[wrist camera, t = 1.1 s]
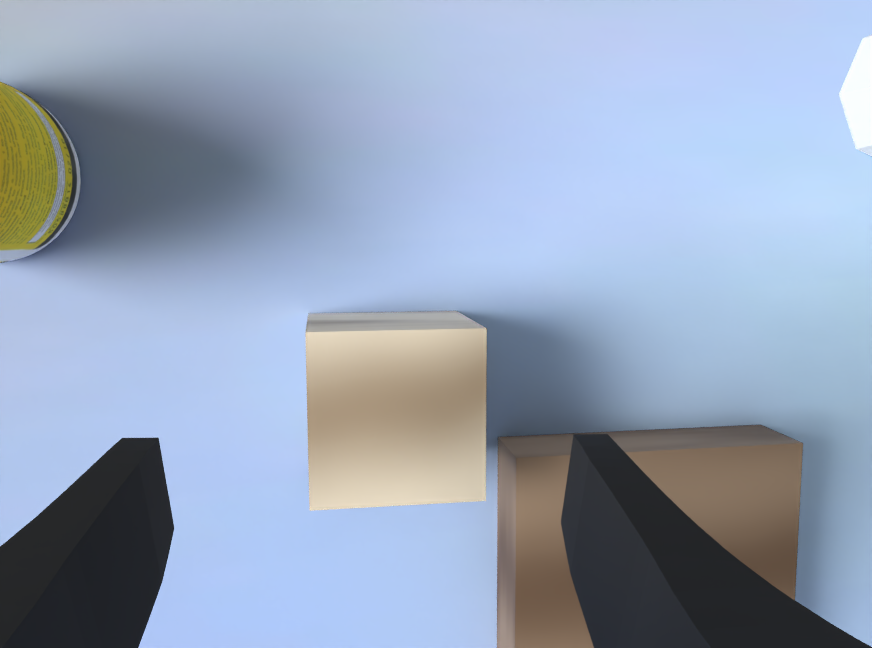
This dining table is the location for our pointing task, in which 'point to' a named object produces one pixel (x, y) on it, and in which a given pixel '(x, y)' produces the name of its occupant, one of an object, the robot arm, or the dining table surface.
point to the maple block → (395, 409)
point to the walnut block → (678, 478)
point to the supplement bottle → (33, 176)
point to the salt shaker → (859, 97)
